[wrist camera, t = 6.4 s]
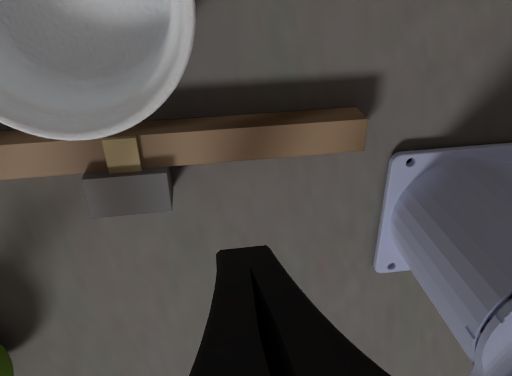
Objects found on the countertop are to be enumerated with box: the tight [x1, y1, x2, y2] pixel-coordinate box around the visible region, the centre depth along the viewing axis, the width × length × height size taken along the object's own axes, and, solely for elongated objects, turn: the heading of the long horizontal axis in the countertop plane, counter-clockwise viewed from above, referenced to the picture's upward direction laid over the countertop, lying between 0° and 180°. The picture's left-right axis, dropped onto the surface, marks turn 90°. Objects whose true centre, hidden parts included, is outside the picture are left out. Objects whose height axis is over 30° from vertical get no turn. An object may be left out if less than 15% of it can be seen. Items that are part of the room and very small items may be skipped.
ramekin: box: [0, 0, 196, 141], centre depth 15 cm, size 9×9×4 cm
